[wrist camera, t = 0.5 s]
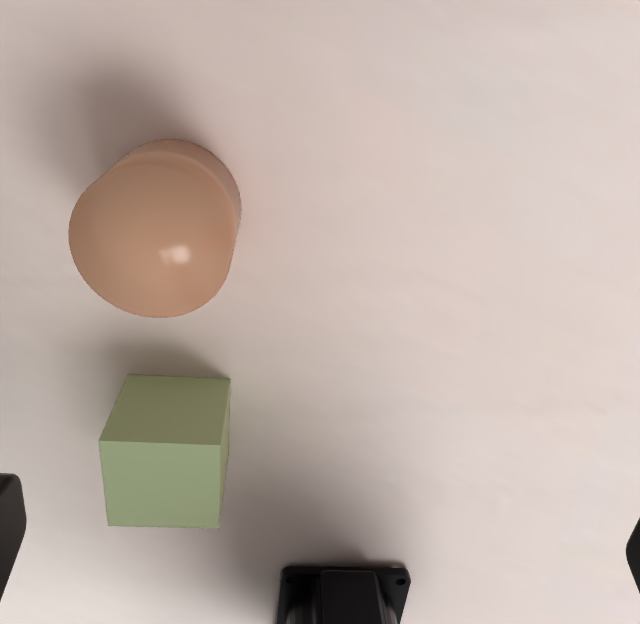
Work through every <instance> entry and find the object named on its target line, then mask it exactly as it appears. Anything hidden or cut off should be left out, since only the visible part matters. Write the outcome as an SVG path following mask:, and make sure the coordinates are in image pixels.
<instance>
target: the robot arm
mask: <svg viewBox="0 0 640 624" xmlns="http://www.w3.org/2000/svg"><path fill="white" fill-rule="evenodd" d="M25 530H26V512H25V505H24V499H23V492H22V486H21V481H20V479H19V477H18V476H17V475H15V474H8V473H0V601H1V598H2V595H3V593H4V590H5V587H6V584H7V582H8V579H9V576H10V573H11V571H12V568H13V565H14V562H15V560H16V557H17V554H18V551H19V549H20V546H21V543H22V540H23V538H24V534H25ZM626 557H627V561H628V564H629V567H630V569H631V572H632V575H633V577H634V580H635V582H636V585H637V588H638V590H639V593H640V518H639V520H638V522H637V524H636V526H635V528H634V530H633V532H632V534H631V536H630V538H629V540H628V542H627V546H626ZM410 583H411V579H410V575H409V572H408V570H406V569H403V568H362V567H304V566H290V567H286V568H284V569H283V570H282V571H281V575H280V585H279V596H278V606H277V616H276V624H400V621H401V617H402V613H403V609H404V606H405V602H406V598H407V594H408V590H409V587H410Z"/></svg>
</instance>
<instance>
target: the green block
mask: <svg viewBox="0 0 640 624" xmlns="http://www.w3.org/2000/svg"><path fill="white" fill-rule="evenodd" d="M230 384H231V379H217V378H197V377H176V376H156V375H135V374H128V376H127V378H126V381H125V383H124V385H123V387H122V390H121V392H120V394H119V396H118V399H117V401H116V403H115V405H114V408H113V410H112V412H111V414H110V417H109V419H108V421H107V423H106V425H105V428H104V430H103V432H102V434H101V437H100V439H99V448H100V457H101V466H102V475H103V484H104V493H105V502H106V511H107V521H108V526H136V527H178V528H219V523H220V516H221V508H222V501H223V493H224V485H225V478H226V470H227V463H228V453H229V418H230Z"/></svg>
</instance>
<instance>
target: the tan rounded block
mask: <svg viewBox="0 0 640 624" xmlns="http://www.w3.org/2000/svg"><path fill="white" fill-rule="evenodd" d="M240 219H241V199H240V194H239V190H238V187H237V185H236V182H235V180H234V178H233V176H232V175H231V173H230V172H229V170H228V169H227V168H226V166H225V165H224V164H223V163H222V162H221V161H220V160H219V159H218V158H217V157H216V156H214V155H213V154H212V153H210V152H209V151H207V150H206V149H204V148H202V147H200V146H198V145H195V144H193V143H190V142H186V141H182V140H175V139H163V140H156V141H152V142H148V143H146V144H143V145H141V146H139V147H137V148H136V149H134V150H133V151H131V152H130V153H129V154H128V155H126V156H125V157H124V158H123V159H122V160H121V161H119V162H118V163H117V164H116V165H115V166H113V167H112V168H111V169H110V170H109V171H107V172H106V173H105V174H104V175H103V176H101V177H100V178H99V179H98V180H97V181H96V182H94V183H93V184H92V185H91V186H90V187H88V188H87V190H86V191H85V192H84V193H83V194H82V195H81V197H80V198H79V200H78V201H77V203H76V205H75V207H74V209H73V212H72V215H71V219H70V223H69V245H70V250H71V254H72V257H73V260H74V262H75V265H76V267H77V269H78V271H79V272H80V274H81V275H82V277H83V279H84V280H85V281H86V282H87V284H88V285H89V286H90V287H91V288H92V289H93V290H94V291H95V292H96V293H97V294H98V295H99V296H101V297H102V298H103V299H104V300H106V301H107V302H109V303H110V304H112V305H114V306H115V307H117V308H120V309H122V310H124V311H126V312H129V313H132V314H135V315H140V316H144V317H152V318H167V317H175V316H179V315H183V314H186V313H189V312H191V311H194V310H196V309H197V308H199V307H201V306H203V305H204V304H205V303H207V302H208V301H209V300H210V299H211V298H212V297H213V296H215V294H216V293H217V292H218V291H219V289H220V288H221V286H222V285H223V283H224V281H225V279H226V277H227V274H228V272H229V268H230V264H231V260H232V255H233V251H234V246H235V242H236V237H237V233H238V228H239V224H240Z"/></svg>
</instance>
